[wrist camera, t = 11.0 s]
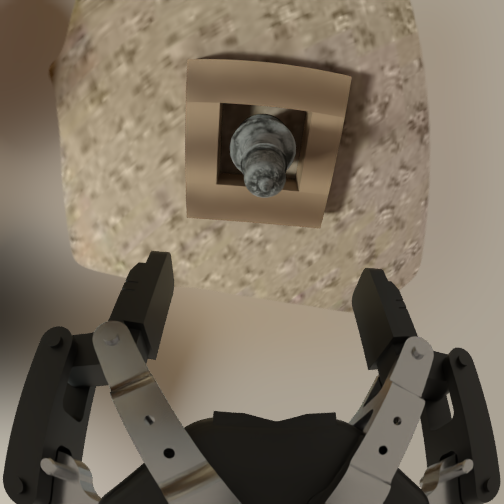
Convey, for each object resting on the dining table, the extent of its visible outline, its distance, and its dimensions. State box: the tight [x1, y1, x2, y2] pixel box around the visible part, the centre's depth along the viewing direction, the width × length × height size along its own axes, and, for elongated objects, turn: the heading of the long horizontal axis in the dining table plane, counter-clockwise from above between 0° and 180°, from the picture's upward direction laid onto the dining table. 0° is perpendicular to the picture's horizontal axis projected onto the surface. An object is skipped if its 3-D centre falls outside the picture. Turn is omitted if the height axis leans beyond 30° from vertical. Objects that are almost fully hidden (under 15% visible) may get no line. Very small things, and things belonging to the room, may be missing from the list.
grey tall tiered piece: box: [230, 114, 296, 198], centre depth 23 cm, size 6×6×12 cm
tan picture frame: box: [185, 59, 352, 228], centre depth 26 cm, size 16×14×3 cm
